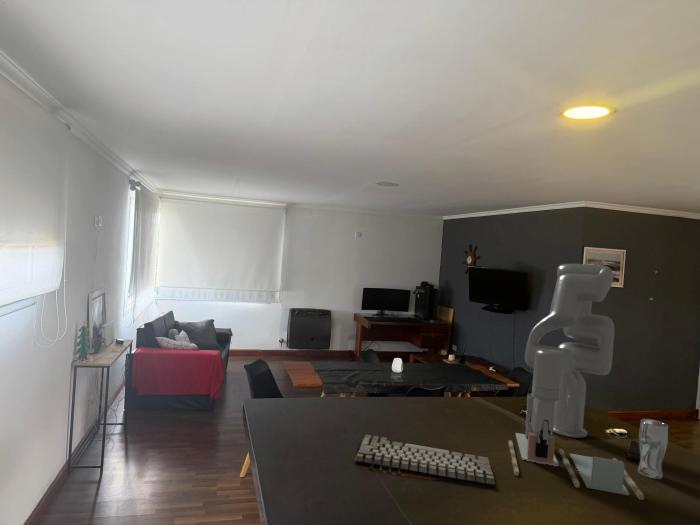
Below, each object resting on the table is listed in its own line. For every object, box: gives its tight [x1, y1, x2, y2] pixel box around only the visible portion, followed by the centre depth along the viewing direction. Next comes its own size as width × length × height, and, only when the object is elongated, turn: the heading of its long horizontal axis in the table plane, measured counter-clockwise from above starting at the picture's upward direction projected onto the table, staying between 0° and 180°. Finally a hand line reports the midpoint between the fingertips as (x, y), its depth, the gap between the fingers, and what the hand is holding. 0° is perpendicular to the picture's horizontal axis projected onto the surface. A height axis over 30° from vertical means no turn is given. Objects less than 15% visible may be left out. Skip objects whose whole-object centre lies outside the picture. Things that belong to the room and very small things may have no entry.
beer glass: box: [637, 418, 669, 480], centre depth 134 cm, size 7×7×15 cm
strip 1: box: [515, 432, 560, 467], centre depth 146 cm, size 22×10×8 cm, turn 165°
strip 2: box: [569, 453, 630, 496], centre depth 131 cm, size 22×10×8 cm, turn 165°
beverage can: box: [525, 392, 535, 440], centre depth 151 cm, size 5×5×15 cm
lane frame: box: [508, 439, 645, 501], centre depth 133 cm, size 24×31×1 cm
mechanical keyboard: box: [353, 434, 496, 489], centre depth 129 cm, size 38×19×3 cm, turn 80°
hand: (540, 454), depth 137 cm, fingers open, 3 cm apart
